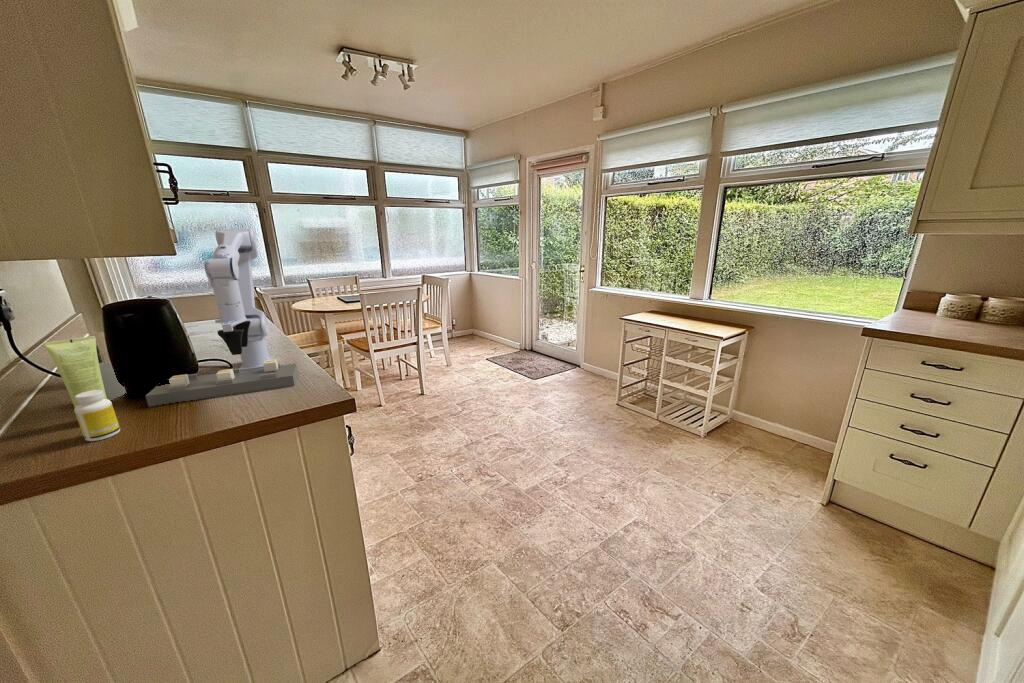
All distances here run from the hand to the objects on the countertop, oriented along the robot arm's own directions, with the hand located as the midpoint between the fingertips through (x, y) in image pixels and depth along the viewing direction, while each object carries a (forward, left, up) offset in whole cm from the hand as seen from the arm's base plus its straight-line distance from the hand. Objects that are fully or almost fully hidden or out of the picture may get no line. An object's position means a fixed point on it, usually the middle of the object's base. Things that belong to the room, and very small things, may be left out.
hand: (240, 350), depth 107 cm
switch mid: (+6, -3, -6) cm, 9 cm away
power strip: (+4, -3, -9) cm, 11 cm away
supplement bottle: (+23, -22, -10) cm, 33 cm away
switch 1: (+6, -13, -6) cm, 16 cm away
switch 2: (+2, +7, -6) cm, 10 cm away
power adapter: (-1, -30, -10) cm, 32 cm away
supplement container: (-18, -41, -10) cm, 46 cm away
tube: (+13, -27, -10) cm, 31 cm away
